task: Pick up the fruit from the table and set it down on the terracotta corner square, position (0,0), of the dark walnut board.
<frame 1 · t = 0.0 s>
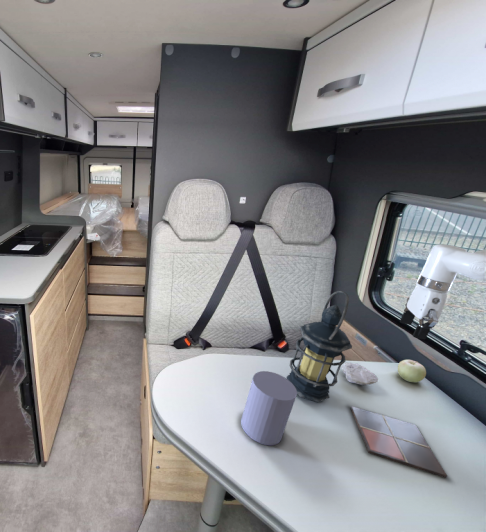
hand: (411, 330, 102), 19 cm above the table, tool pointing down, fingers open, 9 cm apart
board: (392, 439, 83), on the table
lantern: (305, 391, 98), on the table
fossil: (356, 381, 105), on the table
container: (260, 429, 83), on the table
fruit: (407, 379, 109), on the table
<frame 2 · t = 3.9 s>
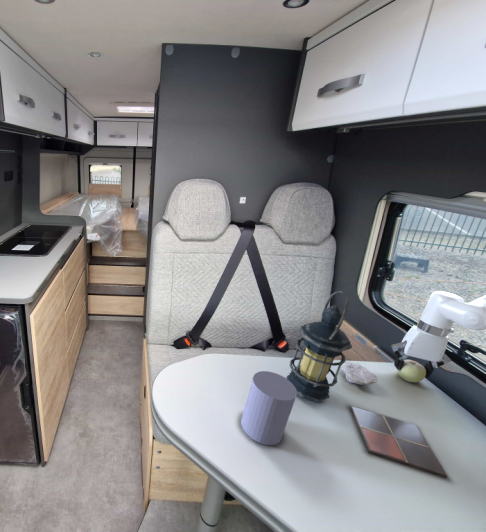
hand: (411, 371, 107), 3 cm above the table, tool pointing down, fingers closed on fruit, 7 cm apart
fruit: (407, 379, 109), on the table, touching gripper
everything else where it was.
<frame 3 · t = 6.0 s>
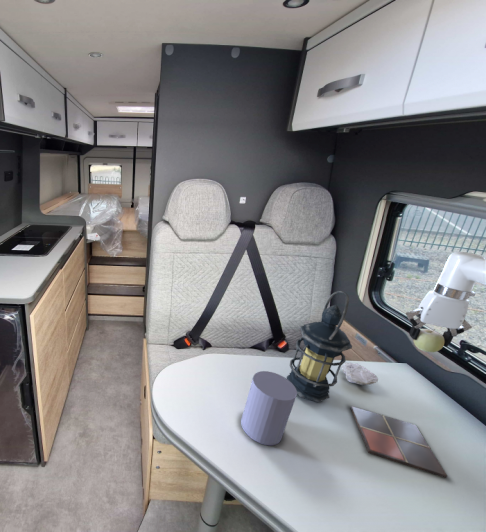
hand: (427, 340, 100), 17 cm above the table, tool pointing down, fingers closed on fruit, 7 cm apart
fruit: (423, 349, 101), point 14 cm above the table, touching gripper
everything else where it was.
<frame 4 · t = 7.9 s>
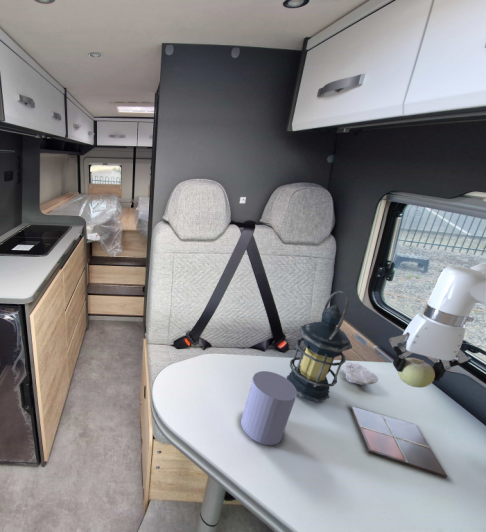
hand: (415, 372, 82), 18 cm above the table, tool pointing down, fingers closed on fruit, 7 cm apart
fruit: (409, 383, 84), point 14 cm above the table, touching gripper
everything else where it was.
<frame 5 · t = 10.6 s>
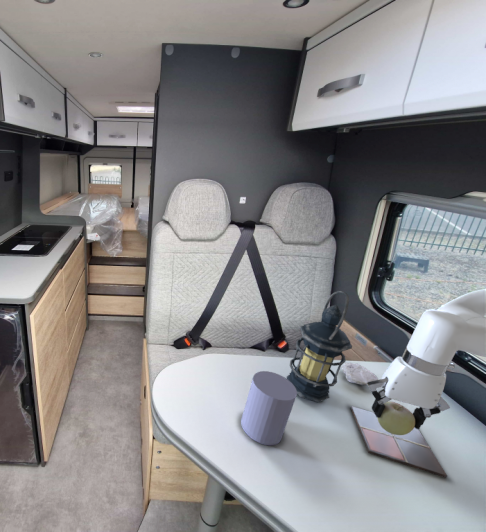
hand: (394, 418, 77), 10 cm above the table, tool pointing down, fingers closed on fruit, 7 cm apart
fruit: (389, 428, 79), point 6 cm above the table, touching gripper
everything else where it was.
when the fingers open (4 cm above the table, at t = 12.4 s): fruit stays where it is, resting on board.
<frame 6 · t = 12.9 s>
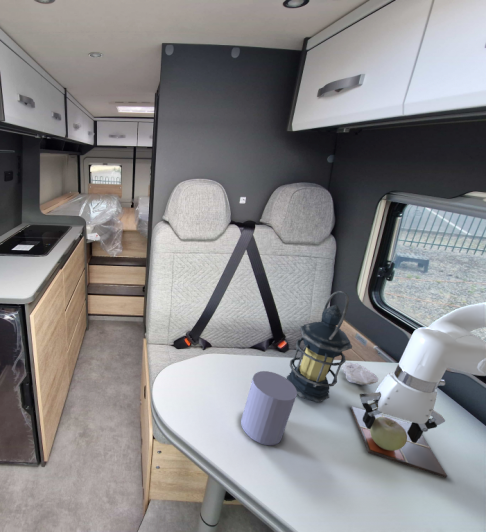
hand: (388, 431, 79), 5 cm above the table, tool pointing down, fingers open, 9 cm apart
fruit: (382, 443, 81), point 1 cm above the table, touching board
everything else where it was.
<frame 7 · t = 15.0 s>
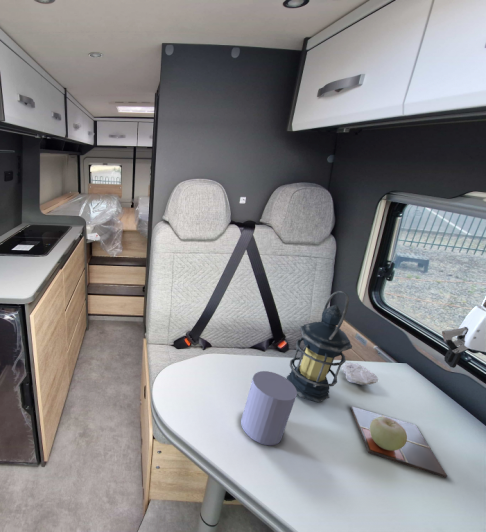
hand: (474, 369, 75), 24 cm above the table, tool pointing down, fingers open, 9 cm apart
nothing on the table moved.
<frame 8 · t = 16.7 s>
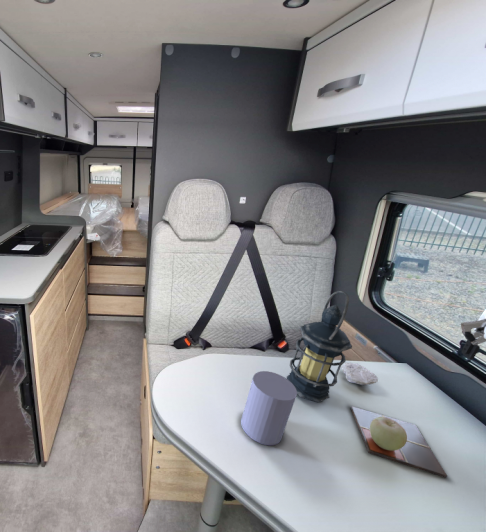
nothing on the table moved.
at the end: fruit inside the target area on the board (0.4 cm from its centre), point 0.9 cm above the board's base; the gripper is holding nothing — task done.
